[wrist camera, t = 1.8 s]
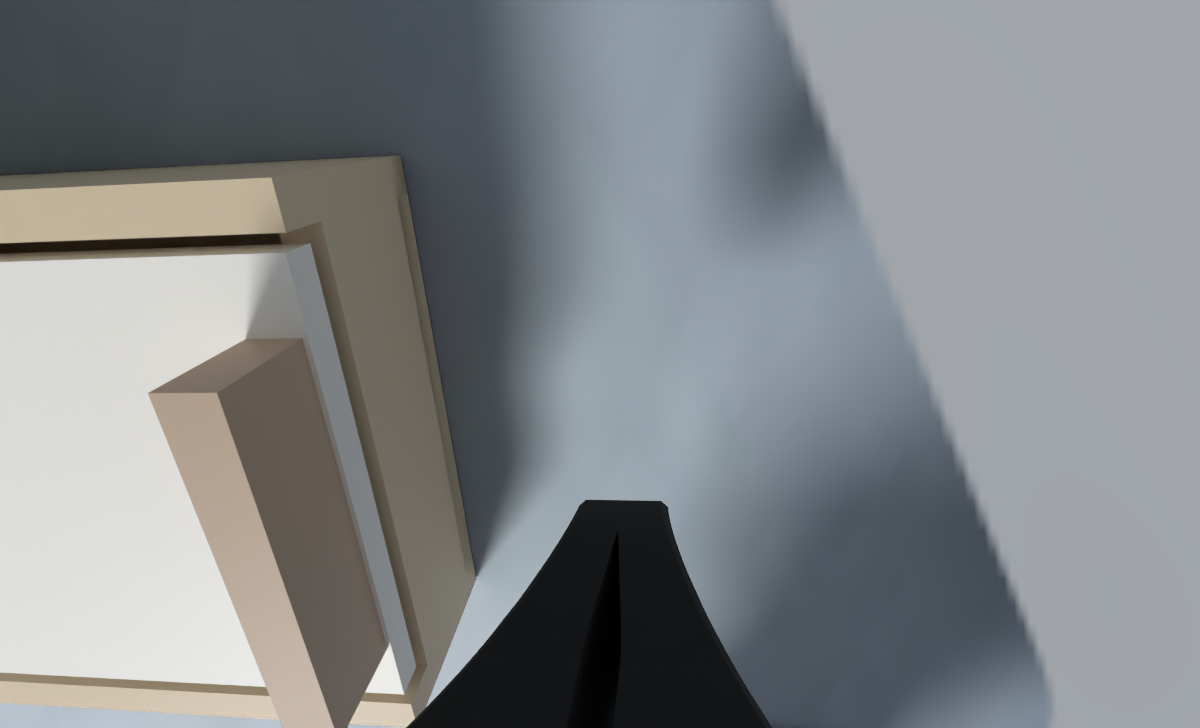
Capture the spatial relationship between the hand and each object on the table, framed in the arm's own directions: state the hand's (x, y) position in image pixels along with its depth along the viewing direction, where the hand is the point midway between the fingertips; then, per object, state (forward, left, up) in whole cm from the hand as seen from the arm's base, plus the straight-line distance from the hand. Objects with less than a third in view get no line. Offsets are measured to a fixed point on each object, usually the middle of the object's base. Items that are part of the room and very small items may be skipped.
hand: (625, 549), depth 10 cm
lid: (0, +10, -1) cm, 11 cm away
